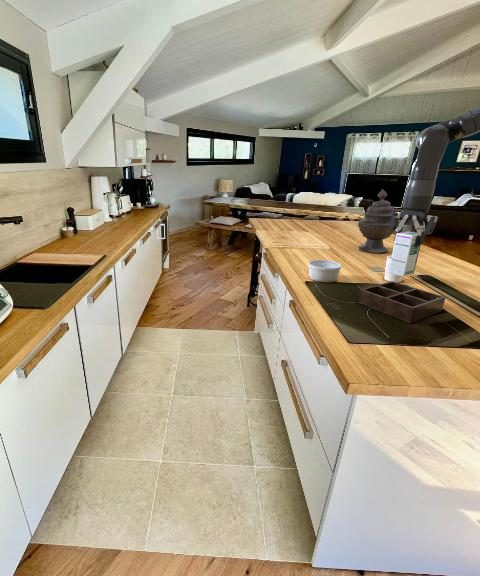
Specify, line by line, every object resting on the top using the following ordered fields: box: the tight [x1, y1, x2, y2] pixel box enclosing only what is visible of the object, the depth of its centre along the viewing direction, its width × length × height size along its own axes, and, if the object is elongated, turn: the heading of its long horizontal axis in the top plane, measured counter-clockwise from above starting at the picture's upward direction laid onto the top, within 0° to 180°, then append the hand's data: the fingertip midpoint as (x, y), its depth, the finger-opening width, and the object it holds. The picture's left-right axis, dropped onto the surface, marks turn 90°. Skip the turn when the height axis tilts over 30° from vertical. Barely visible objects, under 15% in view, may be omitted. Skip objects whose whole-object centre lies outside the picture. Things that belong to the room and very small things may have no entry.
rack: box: [357, 281, 447, 324], centre depth 109 cm, size 18×18×5 cm
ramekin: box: [307, 259, 342, 283], centre depth 138 cm, size 13×13×7 cm
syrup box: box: [389, 231, 422, 277], centre depth 109 cm, size 6×6×14 cm
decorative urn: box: [357, 188, 399, 254], centre depth 178 cm, size 20×20×35 cm
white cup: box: [383, 254, 404, 283], centre depth 134 cm, size 8×8×10 cm
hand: (407, 244), depth 108 cm, fingers closed on syrup box, 6 cm apart
